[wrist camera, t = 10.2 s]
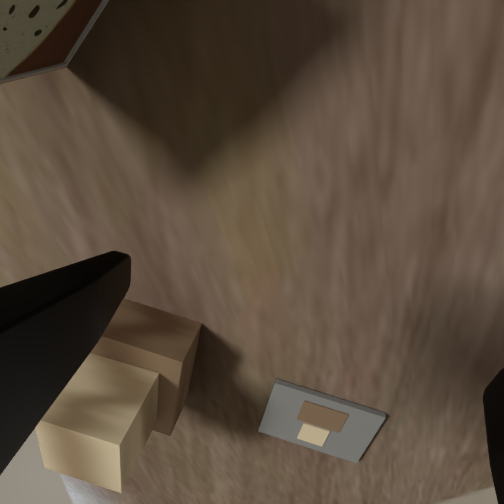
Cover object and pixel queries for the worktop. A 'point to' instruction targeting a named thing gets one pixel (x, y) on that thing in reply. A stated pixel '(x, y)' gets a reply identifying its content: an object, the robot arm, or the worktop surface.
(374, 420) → the card
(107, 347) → the walnut block
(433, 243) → the worktop surface
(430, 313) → the worktop surface
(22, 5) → the food container
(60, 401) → the maple cube
